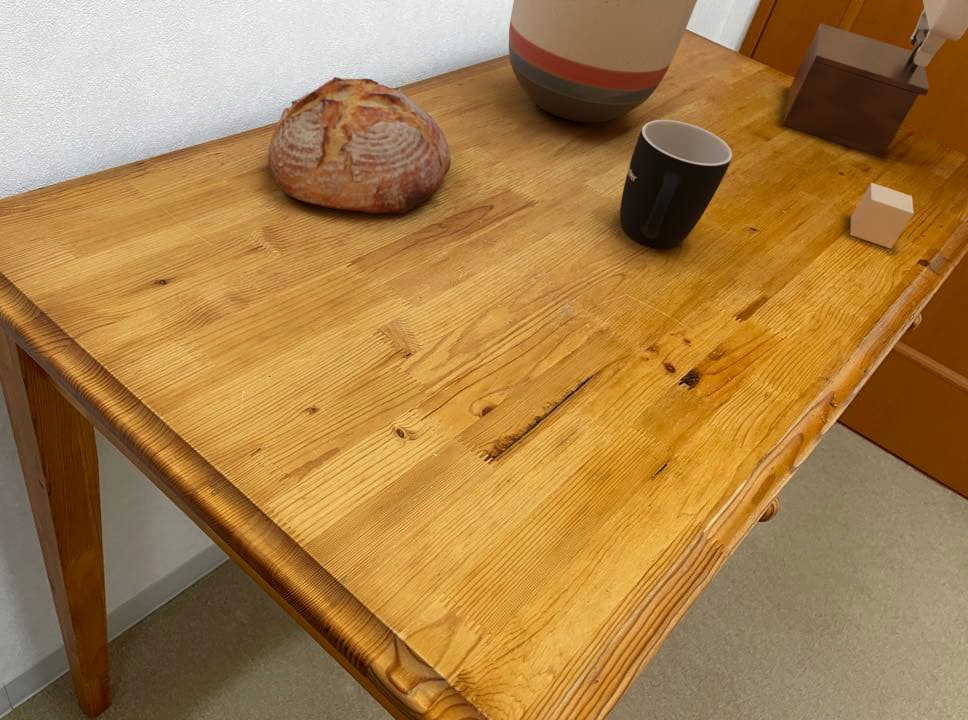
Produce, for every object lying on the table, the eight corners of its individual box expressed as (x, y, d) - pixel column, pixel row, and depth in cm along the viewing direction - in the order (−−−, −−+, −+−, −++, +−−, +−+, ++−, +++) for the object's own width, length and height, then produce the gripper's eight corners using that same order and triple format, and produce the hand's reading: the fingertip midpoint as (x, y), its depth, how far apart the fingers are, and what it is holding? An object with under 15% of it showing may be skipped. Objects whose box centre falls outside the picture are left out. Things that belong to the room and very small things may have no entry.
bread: (229, 178, 83) (225, 75, 76) (362, 127, 95) (369, 35, 89) (354, 246, 76) (362, 140, 70) (480, 182, 89) (496, 87, 82)
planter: (579, 163, 96) (644, -39, 82) (457, 87, 106) (497, -106, 91) (678, 130, 108) (751, -51, 94) (561, 65, 118) (611, -109, 103)
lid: (919, 59, 119) (940, 23, 116) (925, 96, 108) (948, 57, 104) (818, 28, 121) (835, -8, 118) (813, 61, 110) (832, 21, 107)
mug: (617, 199, 92) (650, 110, 85) (697, 227, 90) (738, 139, 83) (592, 250, 83) (626, 155, 76) (680, 282, 82) (723, 189, 75)
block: (890, 231, 98) (912, 195, 95) (891, 249, 95) (914, 213, 92) (850, 217, 99) (871, 182, 96) (850, 235, 95) (871, 199, 92)
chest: (880, 117, 125) (913, 58, 119) (882, 157, 114) (919, 94, 108) (789, 88, 127) (817, 29, 121) (782, 125, 116) (813, 61, 110)
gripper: (1020, -34, 95) (947, 86, 104) (998, -69, 109) (936, 39, 119) (963, -51, 96) (895, 70, 105) (949, -82, 110) (891, 26, 120)
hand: (917, 53), depth 112 cm, fingers open, 7 cm apart
